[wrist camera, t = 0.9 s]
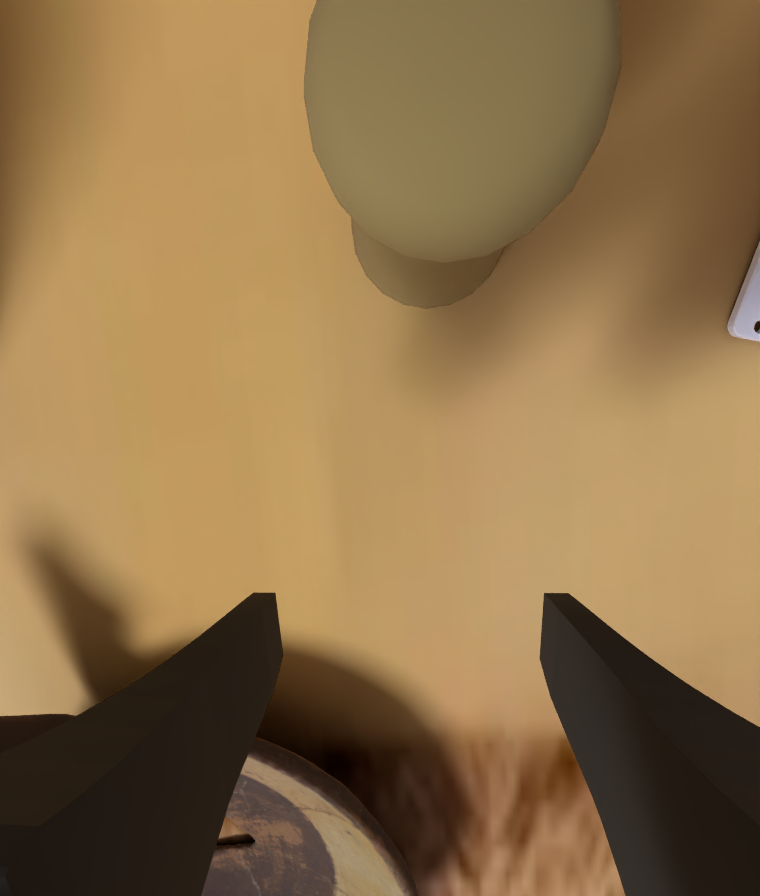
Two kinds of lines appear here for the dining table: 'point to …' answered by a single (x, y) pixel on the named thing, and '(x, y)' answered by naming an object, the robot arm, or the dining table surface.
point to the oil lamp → (284, 828)
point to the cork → (454, 126)
